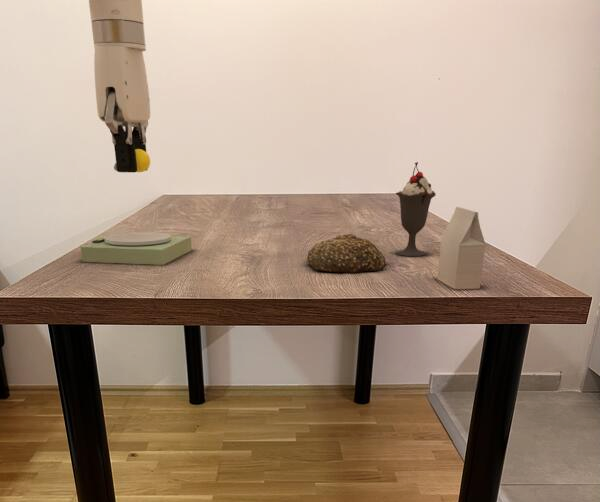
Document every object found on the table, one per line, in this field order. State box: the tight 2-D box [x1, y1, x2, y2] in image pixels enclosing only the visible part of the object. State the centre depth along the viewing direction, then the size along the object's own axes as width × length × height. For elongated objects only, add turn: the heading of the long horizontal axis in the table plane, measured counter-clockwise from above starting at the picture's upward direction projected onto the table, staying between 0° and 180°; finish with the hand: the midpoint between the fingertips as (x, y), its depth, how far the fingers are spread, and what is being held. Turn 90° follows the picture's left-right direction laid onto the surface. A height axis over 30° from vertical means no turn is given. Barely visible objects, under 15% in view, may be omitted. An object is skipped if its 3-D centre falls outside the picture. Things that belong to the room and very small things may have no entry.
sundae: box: [395, 161, 437, 257], centre depth 109 cm, size 7×7×15 cm
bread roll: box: [306, 233, 387, 274], centre depth 101 cm, size 13×12×5 cm
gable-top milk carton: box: [436, 206, 486, 290], centre depth 88 cm, size 4×7×10 cm, turn 9°
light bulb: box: [113, 149, 151, 173], centre depth 102 cm, size 3×6×4 cm, turn 89°
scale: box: [80, 231, 193, 266], centre depth 109 cm, size 14×14×3 cm
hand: (132, 170), depth 103 cm, fingers closed on light bulb, 3 cm apart
